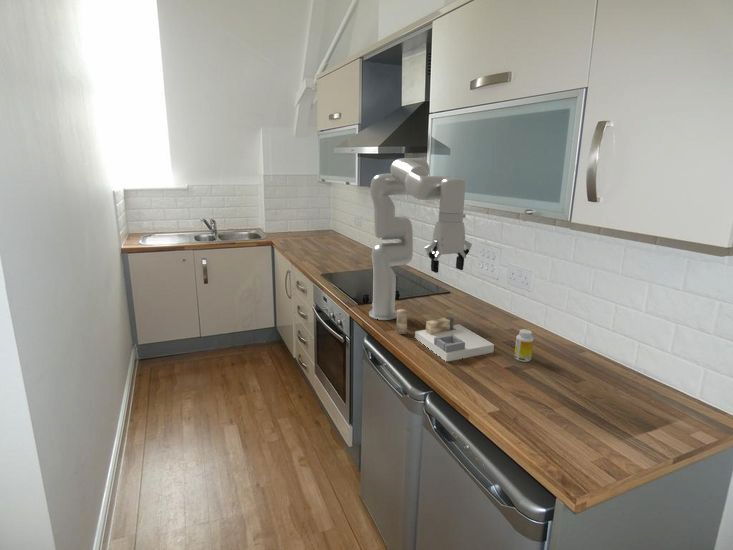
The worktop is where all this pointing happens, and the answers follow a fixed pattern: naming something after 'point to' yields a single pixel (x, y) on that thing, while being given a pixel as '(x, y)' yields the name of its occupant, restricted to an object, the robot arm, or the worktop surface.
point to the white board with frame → (455, 343)
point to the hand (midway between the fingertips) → (447, 270)
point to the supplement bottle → (524, 346)
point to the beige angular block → (439, 325)
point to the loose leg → (401, 321)
